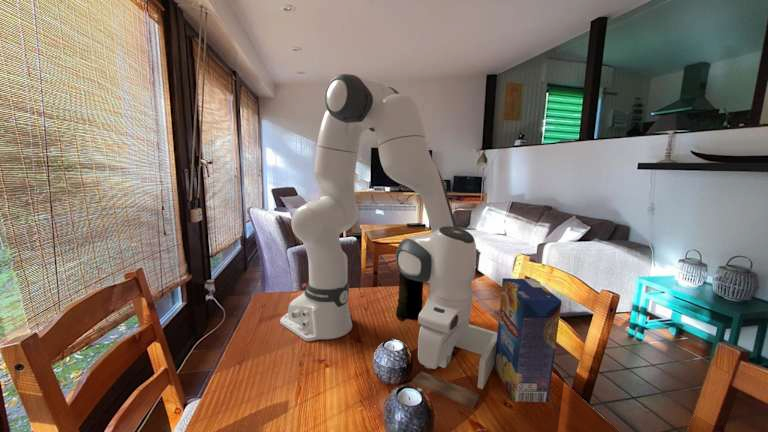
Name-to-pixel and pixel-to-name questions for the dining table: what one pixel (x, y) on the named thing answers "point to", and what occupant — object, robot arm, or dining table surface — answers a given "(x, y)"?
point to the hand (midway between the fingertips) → (444, 363)
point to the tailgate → (446, 389)
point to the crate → (480, 349)
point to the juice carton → (526, 339)
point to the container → (409, 298)
